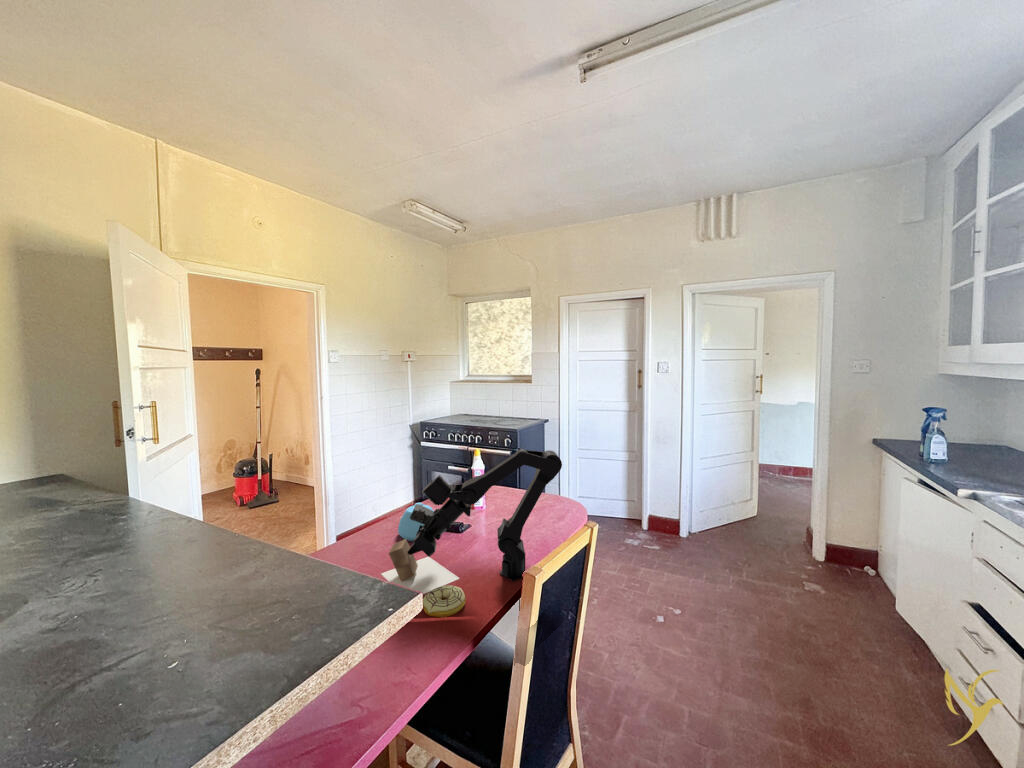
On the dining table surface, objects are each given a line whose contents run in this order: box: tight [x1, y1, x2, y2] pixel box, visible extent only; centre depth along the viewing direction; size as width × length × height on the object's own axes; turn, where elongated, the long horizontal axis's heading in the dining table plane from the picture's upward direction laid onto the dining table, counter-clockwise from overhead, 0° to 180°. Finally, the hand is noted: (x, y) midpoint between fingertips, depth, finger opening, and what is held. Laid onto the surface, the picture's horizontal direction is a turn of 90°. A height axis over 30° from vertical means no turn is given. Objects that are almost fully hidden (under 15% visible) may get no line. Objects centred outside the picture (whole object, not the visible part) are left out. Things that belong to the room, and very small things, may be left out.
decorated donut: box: [422, 584, 466, 619], centre depth 103 cm, size 10×11×4 cm
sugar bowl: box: [397, 502, 435, 542], centre depth 148 cm, size 15×15×12 cm
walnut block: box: [388, 539, 418, 581], centre depth 117 cm, size 4×6×9 cm, turn 4°
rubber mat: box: [380, 556, 461, 595], centre depth 117 cm, size 16×18×1 cm
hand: (408, 553), depth 117 cm, fingers closed
